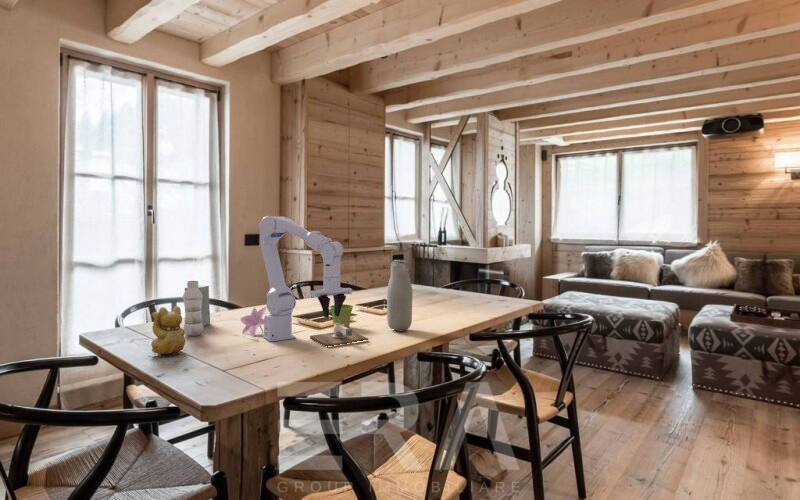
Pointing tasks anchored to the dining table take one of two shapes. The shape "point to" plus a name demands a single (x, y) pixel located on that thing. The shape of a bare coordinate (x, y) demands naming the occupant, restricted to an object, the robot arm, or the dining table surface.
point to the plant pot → (342, 315)
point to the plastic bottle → (193, 309)
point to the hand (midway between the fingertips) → (331, 316)
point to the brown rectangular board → (337, 338)
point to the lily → (253, 321)
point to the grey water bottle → (399, 296)
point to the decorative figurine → (168, 332)
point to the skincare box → (204, 304)
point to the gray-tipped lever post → (342, 329)
